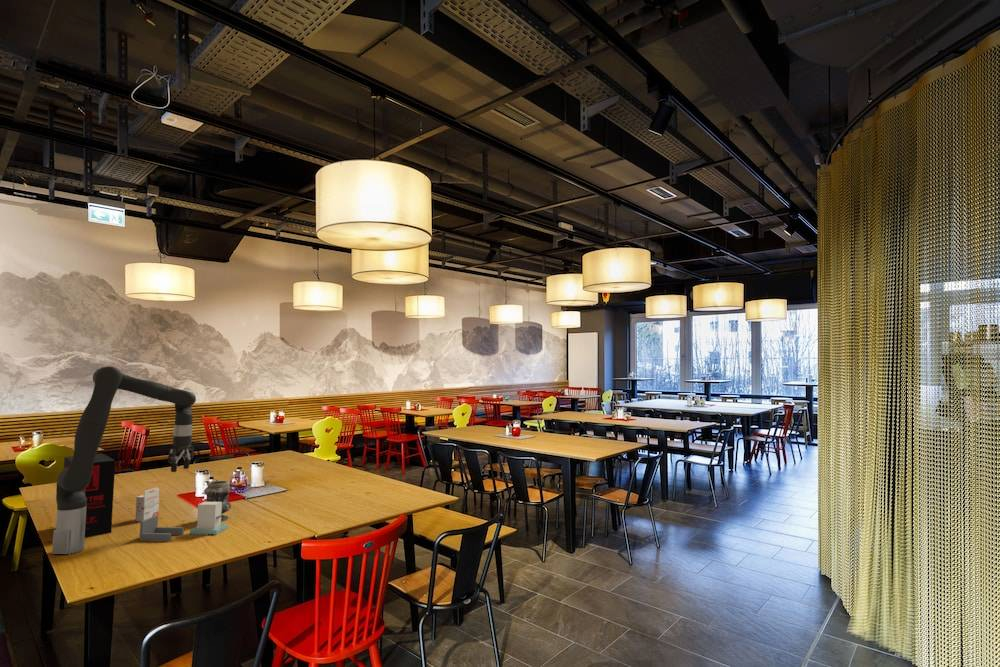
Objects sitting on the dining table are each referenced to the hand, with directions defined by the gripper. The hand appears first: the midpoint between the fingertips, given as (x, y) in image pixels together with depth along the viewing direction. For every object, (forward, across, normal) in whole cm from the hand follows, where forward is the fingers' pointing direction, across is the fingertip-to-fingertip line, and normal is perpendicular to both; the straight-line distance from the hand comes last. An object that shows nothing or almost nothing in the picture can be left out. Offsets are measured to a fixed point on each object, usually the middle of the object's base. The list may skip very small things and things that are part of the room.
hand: (180, 470), depth 236 cm
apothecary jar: (+27, +17, -9) cm, 33 cm away
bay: (+27, -10, -1) cm, 29 cm away
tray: (+27, -1, -16) cm, 31 cm away
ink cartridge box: (+27, +15, +25) cm, 40 cm away
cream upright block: (+26, -1, -16) cm, 31 cm away
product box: (+28, -2, +41) cm, 49 cm away
